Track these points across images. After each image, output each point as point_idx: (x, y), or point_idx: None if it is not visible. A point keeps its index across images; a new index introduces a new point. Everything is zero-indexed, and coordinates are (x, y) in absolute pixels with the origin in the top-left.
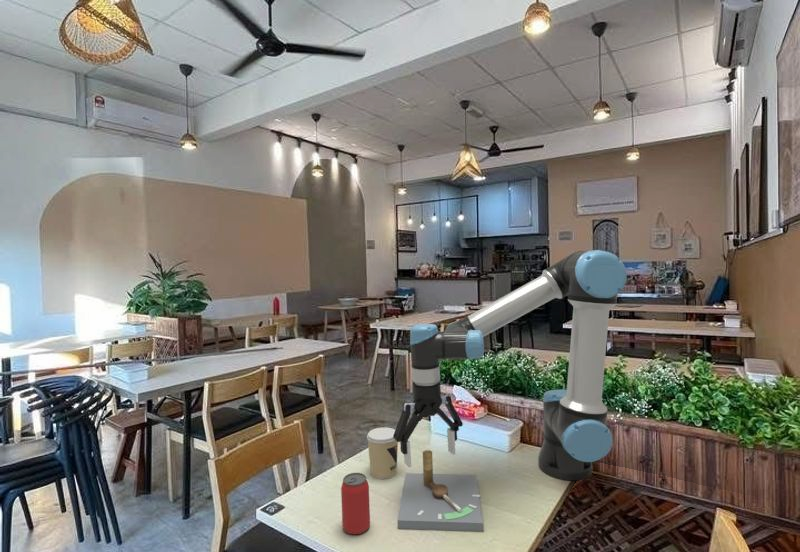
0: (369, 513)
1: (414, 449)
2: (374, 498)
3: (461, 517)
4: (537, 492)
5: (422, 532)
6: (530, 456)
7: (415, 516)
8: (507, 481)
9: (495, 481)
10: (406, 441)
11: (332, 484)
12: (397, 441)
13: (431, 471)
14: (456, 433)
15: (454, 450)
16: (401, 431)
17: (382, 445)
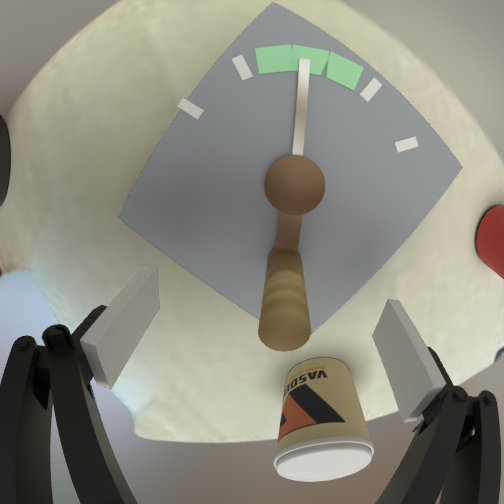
0: (500, 225)
1: (195, 403)
2: (412, 305)
3: (312, 48)
4: (53, 97)
5: (415, 107)
6: (5, 230)
7: (424, 144)
8: (69, 168)
9: (89, 183)
10: (450, 391)
11: None
12: (490, 392)
13: (281, 266)
14: (78, 328)
15: (141, 275)
16: (492, 438)
17: (357, 434)
